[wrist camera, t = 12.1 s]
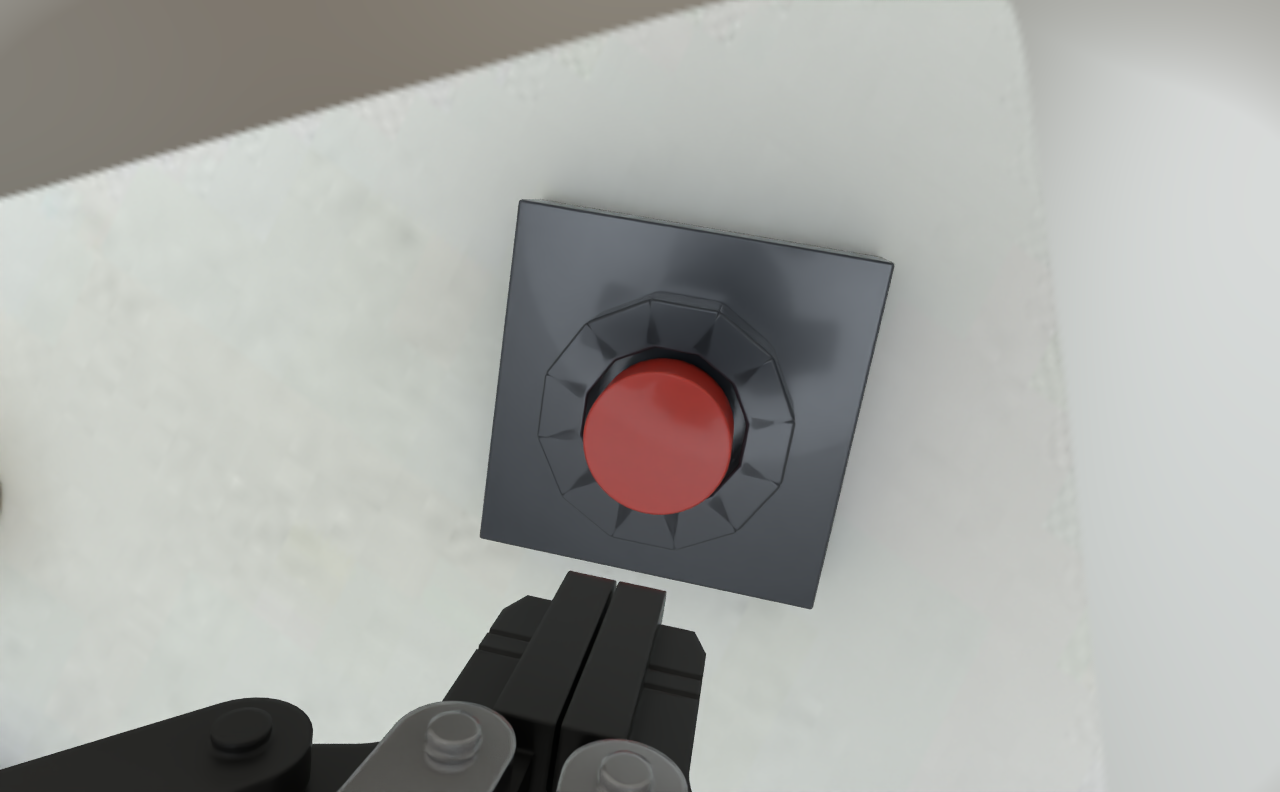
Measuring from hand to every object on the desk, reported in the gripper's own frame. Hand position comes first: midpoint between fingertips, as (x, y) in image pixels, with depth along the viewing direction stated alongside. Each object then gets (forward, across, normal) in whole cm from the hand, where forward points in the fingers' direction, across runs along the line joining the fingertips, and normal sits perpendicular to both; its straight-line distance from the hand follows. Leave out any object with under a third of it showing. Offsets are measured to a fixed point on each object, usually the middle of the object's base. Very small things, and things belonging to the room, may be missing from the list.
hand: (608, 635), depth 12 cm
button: (+9, 0, -1) cm, 9 cm away
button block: (+13, 0, -1) cm, 13 cm away
